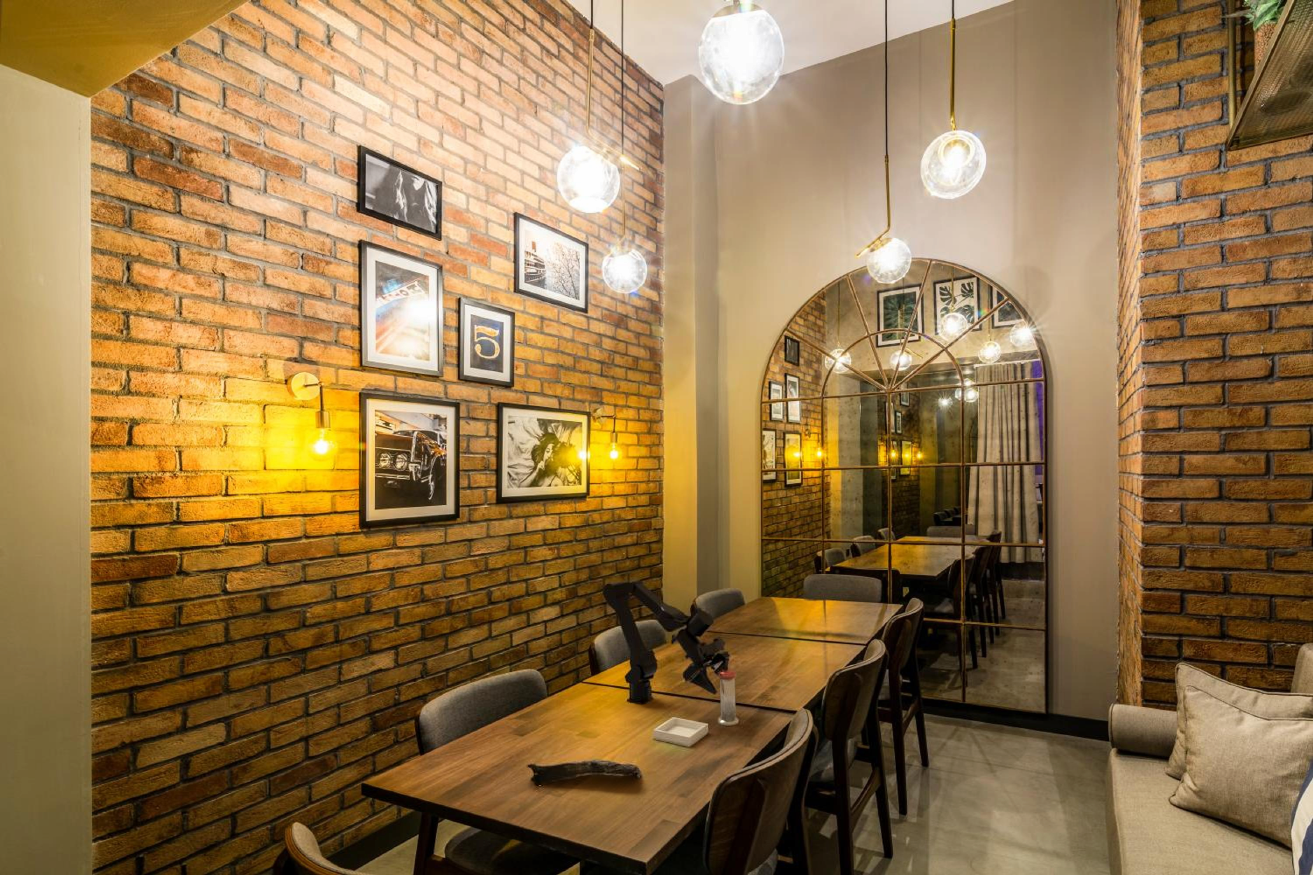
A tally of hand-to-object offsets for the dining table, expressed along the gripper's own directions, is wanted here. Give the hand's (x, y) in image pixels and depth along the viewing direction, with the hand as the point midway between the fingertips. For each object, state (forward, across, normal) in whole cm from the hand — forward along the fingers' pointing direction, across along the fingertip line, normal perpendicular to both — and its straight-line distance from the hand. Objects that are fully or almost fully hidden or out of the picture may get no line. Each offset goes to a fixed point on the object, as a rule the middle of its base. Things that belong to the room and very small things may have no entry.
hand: (724, 689), depth 196 cm
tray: (+4, -17, +9) cm, 19 cm away
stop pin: (+7, 0, +6) cm, 9 cm away
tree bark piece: (+2, -52, +12) cm, 53 cm away
